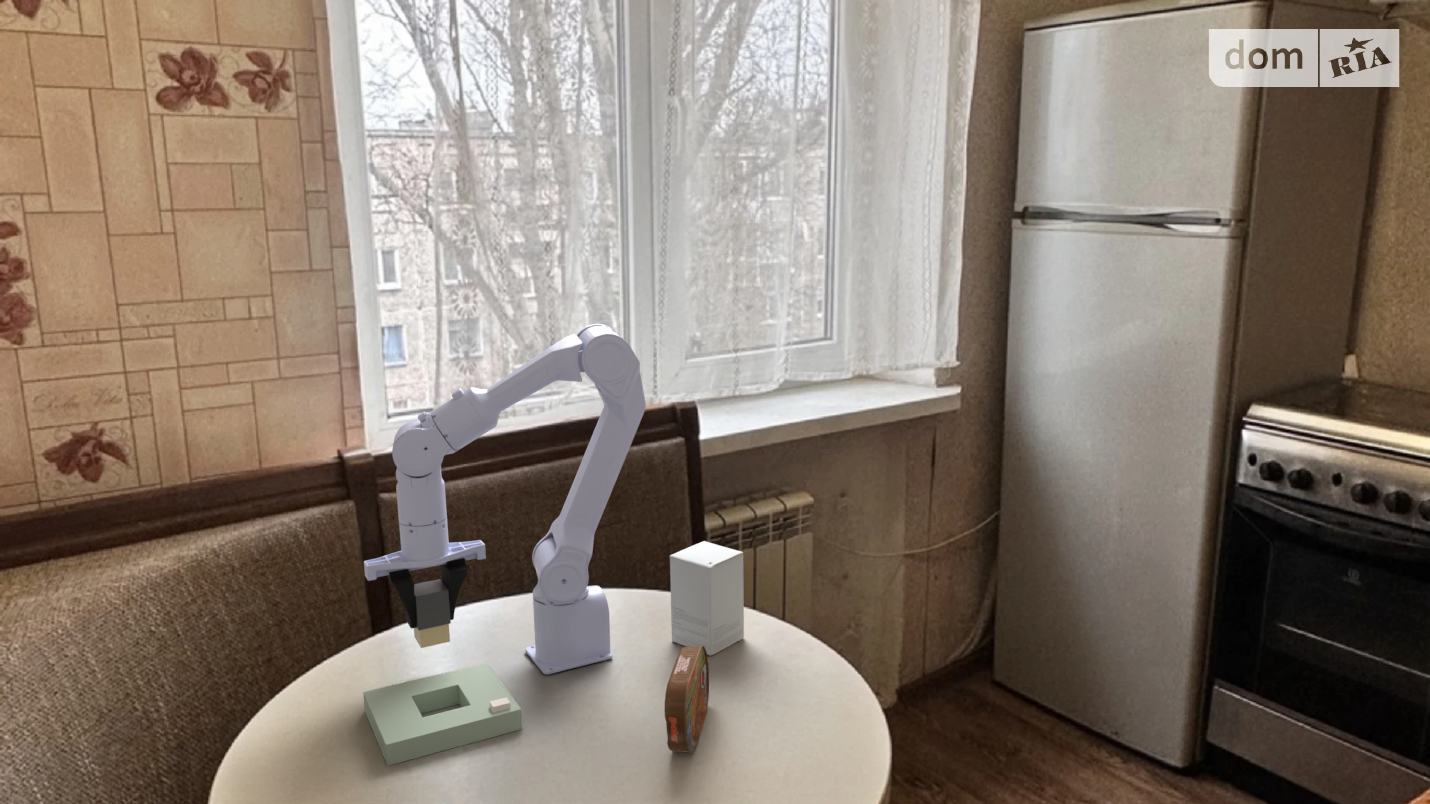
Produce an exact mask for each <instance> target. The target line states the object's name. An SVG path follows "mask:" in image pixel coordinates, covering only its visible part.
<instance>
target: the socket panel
mask: <svg viewBox="0 0 1430 804" xmlns="http://www.w3.org/2000/svg"><path fill="white" fill-rule="evenodd" d="M362 693H363V704H364V705H363V706H364V712H365V715H366V717H367V720H368V722H369V724H370V727H371V729H372V732H373V734H374V737H375V739H376V741H377V744H378V745H379V749H380V750H381V753H382V756H383V758H384V761H385V763H386V764H387V766H392V765H396V764H399V763H400V764H401V763H403V762H406V761H410V760H414V759H418V758H421V757H424V756H430V755H433V754H436V753H441V752H444V751H447V750H450V749H451V750H452V749H454V748H457V747H461V746H464V745H469V744H472V743H476V742H479V741H483V740H487V739H490V738H494V737H498V736H501V735H506V734H508V733H512V732H516V731H519V730H523V720H522V718H523V717H522V708H521V706H519V705H520V704H518V702H517V701H516V700H515V698H514V697H513V695H512V694H511V692H510V691H509V690H508V689H507V686H505V684H504V683H503V681H501V679H500V678H499V676H498V675H497V673H496V672H495V671H494V669H493V668H492V666H491V665H490V664H489V663H488V662H485V663H480V664H476V665H472V666H468V667H464V668H460V669H455V670H451V671H448V672H447V671H446V672H442V673H438V674H435V675H430V676H426V677H421V678H416V679H413V680H408V681H404V682H400V683H397V684H391V685H388V686H382V687H379V688H375V689H374V688H373V689H372V690H371V689H370V690H367V691H363V692H362ZM455 705H460V707H457V708H454V709H451V710H447V711H446V710H445V711H443V712H438V713H435V714H430V715H426V716H423V715H422V714H424V713H428V712H431V711H432V712H433V711H435V710H436V711H437V710H440V709H444V708H447V707H448V708H449V707H451V706H455Z"/></svg>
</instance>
